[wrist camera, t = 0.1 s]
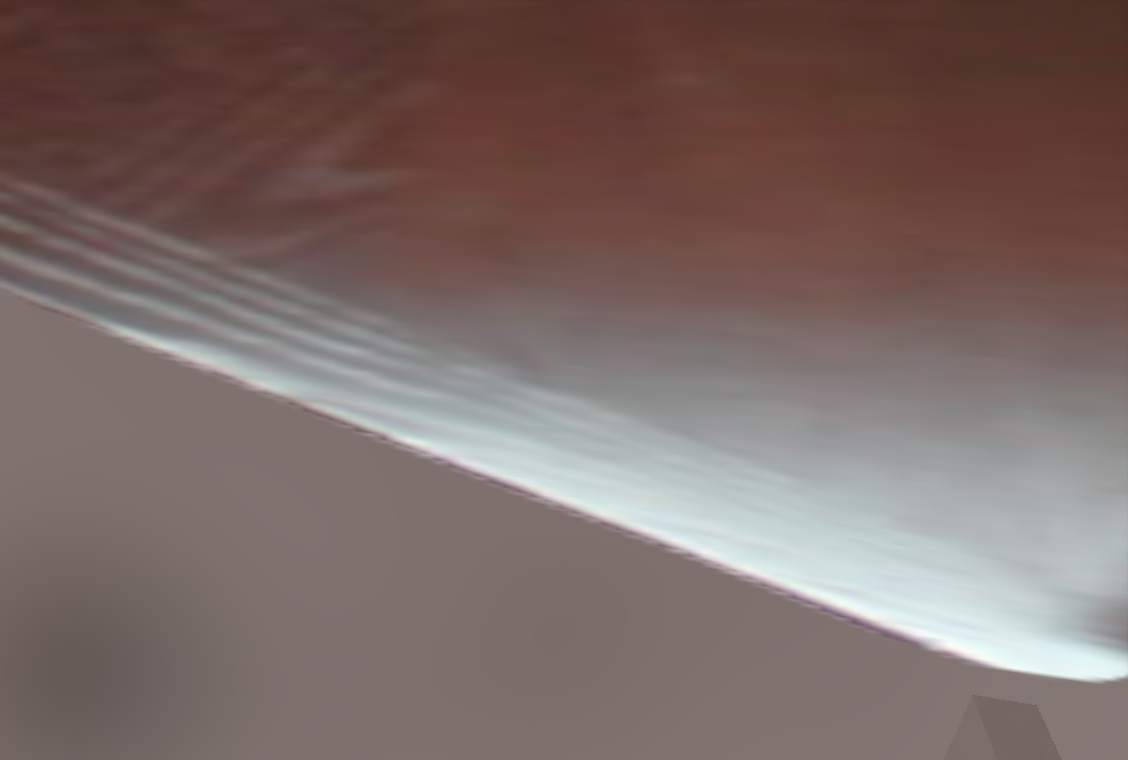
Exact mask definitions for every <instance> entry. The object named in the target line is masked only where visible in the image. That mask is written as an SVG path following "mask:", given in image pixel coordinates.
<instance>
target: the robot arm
mask: <svg viewBox="0 0 1128 760" xmlns="http://www.w3.org/2000/svg"><path fill="white" fill-rule="evenodd" d="M944 760H1061V758H1060V755H1059V753H1058V751H1057V749H1056V747H1055V744H1054V742H1053V740H1052V738H1051V736H1050V733H1049V731H1048V729H1047V727H1046V725H1045V722H1044V720H1043V718H1042V716H1041V714H1040V712H1039V710H1038V707H1037V705H1031V704H1025V703H1018V702H1013V701H1006V700H1000V699H994V698H988V697H982V696H976V695H972V696H971V699H970V701H969V703H968V705H967V708H966V710H965V712H964V714H963V717H962V719H961V722H960V723H959V726H958V728H957V730H956V733H955V735H954V737H953V739H952V742H951V744H950V746H949V748H948V751H947V753H946V755H945V757H944Z"/></svg>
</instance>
